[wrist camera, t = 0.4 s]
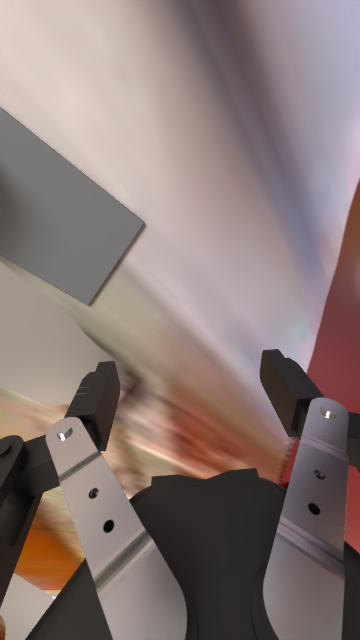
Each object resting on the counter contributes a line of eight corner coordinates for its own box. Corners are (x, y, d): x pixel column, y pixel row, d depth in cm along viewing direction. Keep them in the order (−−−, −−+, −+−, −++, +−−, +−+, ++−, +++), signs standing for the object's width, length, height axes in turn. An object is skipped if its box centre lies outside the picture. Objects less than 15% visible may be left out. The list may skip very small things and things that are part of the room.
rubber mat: (-172, 153, 23) (-178, 152, 23) (-155, -17, 18) (-162, -22, 18) (88, 303, 34) (87, 305, 34) (144, 221, 29) (144, 222, 28)
